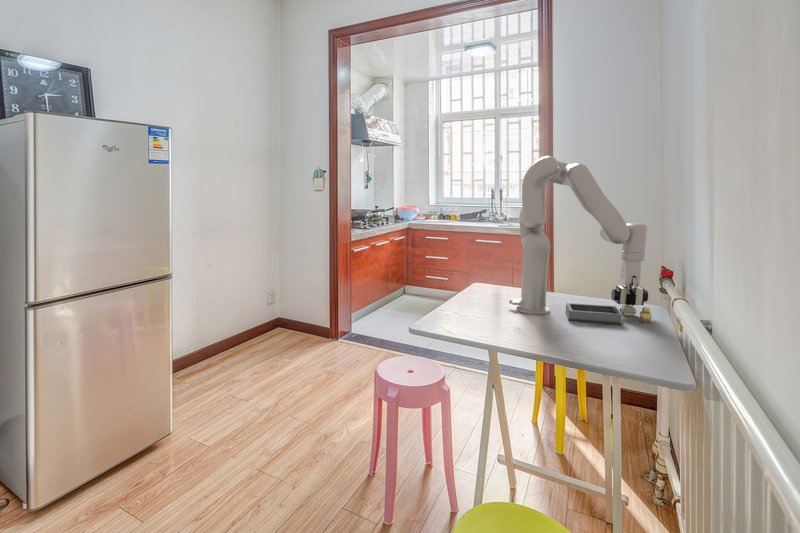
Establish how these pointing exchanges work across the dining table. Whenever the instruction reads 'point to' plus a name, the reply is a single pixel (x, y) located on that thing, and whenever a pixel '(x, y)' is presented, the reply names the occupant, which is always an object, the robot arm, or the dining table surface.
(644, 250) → the robot arm
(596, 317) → the gray rectangular tray
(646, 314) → the brass fitting
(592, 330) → the dining table surface
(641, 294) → the pneumatic valve
